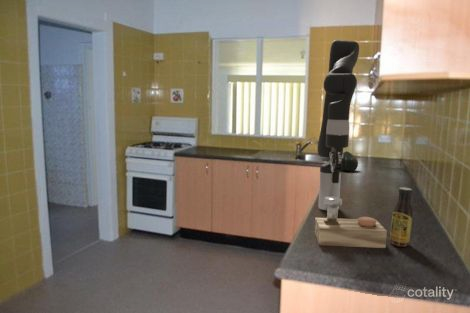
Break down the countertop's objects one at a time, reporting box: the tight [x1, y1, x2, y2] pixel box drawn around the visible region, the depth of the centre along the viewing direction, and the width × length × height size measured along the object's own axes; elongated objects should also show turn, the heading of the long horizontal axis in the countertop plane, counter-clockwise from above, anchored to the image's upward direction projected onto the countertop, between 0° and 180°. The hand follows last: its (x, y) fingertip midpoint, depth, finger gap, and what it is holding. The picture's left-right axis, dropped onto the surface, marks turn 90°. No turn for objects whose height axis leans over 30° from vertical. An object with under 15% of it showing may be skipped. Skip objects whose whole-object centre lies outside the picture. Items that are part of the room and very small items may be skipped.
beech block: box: [314, 217, 388, 249], centre depth 131 cm, size 12×22×6 cm, turn 86°
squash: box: [341, 150, 359, 173], centre depth 274 cm, size 14×15×15 cm
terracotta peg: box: [357, 216, 377, 227], centre depth 130 cm, size 6×6×8 cm
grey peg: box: [324, 197, 343, 222], centre depth 130 cm, size 6×6×8 cm
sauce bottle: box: [389, 186, 414, 248], centre depth 127 cm, size 7×6×20 cm
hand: (335, 182), depth 129 cm, fingers closed
